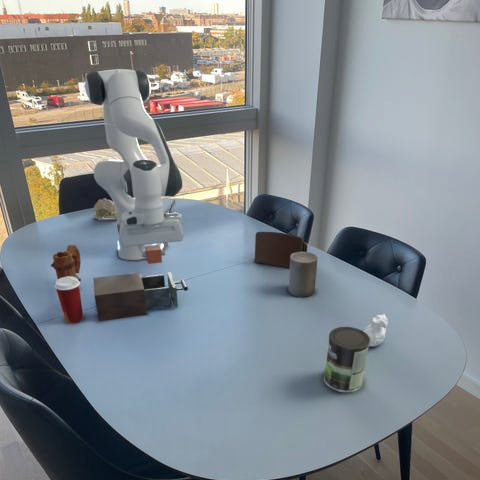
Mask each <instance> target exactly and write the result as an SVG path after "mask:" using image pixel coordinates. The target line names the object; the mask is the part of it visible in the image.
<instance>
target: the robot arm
mask: <svg viewBox="0 0 480 480" xmlns="http://www.w3.org/2000/svg"><path fill="white" fill-rule="evenodd" d="M151 86H152V85H151V81H150V79H149V76H148V74H147V73H146V72H145V71H143V70H140V69H127V68H126V69H124V68H123V69H122V68H116V69H107V70H101V71H98V70H94V71H90V72H88V73H87V75H86V76H85V81H84V90H85V94H86V96H87V98H88V99H89V102H91V103H92V104H93V105H96V106H102V107H103V109H102V110H103V121H104V123H103V124H104V128H105V131H104V132H105V137H106V143H107V145H108V147H109V148H110V149H111V150H113V151H114V152H116V153H117V154H119V156H120V157H121V159H122V160H121V159H107V160H101V161H100V160H99V161H98V162H97V163H96V164H95V166H94V169H93V178H94V180H95V182H96V184H97V185H98V186H99V187H101V188H102V189H103V190H104V191H105V192H106V193H107V194H108V195H109V198H111V201H112V202H114V205H115V208H116V213H117V223H116V228H117V233H118V234H117V236H118V237H117V238H118V240H117V252H118V255H117V256H118V257H119V258H120V259H122V260H124V261H139V260H147V259H146V257H147V253H146V250H145V246H149V245H159V246H160V248H161V255H162V256H163V257H164V256H166V250H167V248H168V246H169V245H168V244H169V243H178V242H182V241H183V240H184V231H183V227H182V225H183V223H184V218H183V216H182V214H180V213H178V212H173V213H171V212H170V211H171V208H172V206H173V204H174V203H175V201H176V199H173V200H172V202H171V203H170V205H169V206H168V210H167V212H166V213H165V212H164V211H165V210H164V202H163V200H162V197H168V198H169V197H170V198H171V197H172V198H173V197H176V195H178V194H179V193H180V191H181V190H182V188H183V178H182V174H181V171H180V169H179V168H178V166H177V164H176V161H175V159H174V157H173V155H172V152H171V150H170V148H169V145H168V143H167V140H166V138H165V135H164V133H163V130H162V128H161V127H160V124H159V123H158V121H157V120H156V119H154V118H152V117H151V116H150V115H149V113H148V112H147V110H146V108H145V107H144V103H146V102H148V100H149V99H150V95H151V91H152V89H151V88H152V87H151ZM138 139H139V140H141V141H144V142H147V143H148V144H150V145H151V146H152V148H153V150H154V153H155V155H156V158H157V160H158V162H159V164H160V165H158V163H157V162H155V161H154V160H152V159H151V160H150V159H147V157H146V156H145V155H144V154H143V151H142V150H141V148H140V145H139V142H138Z"/></svg>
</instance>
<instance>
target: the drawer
mask: <svg viewBox="0 0 480 480" xmlns="http://www.w3.org/2000/svg"><path fill="white" fill-rule="evenodd" d="M166 275H167V286H166V280H165V274H163V273H161V274H153V275H145V276H141V279H142V283H143V287H144V293H145V301H146V310H147V311H151V310H157V309H163V308H170V307H171V302H172V305H173V308H174V309H178V308H179V302H178V291H184V292H187V291H188V290H189V287H188V285H187V282H186V280H185V279H181V280H180V281H175V280H174V277H173V275H172V273H171V271H169V272H166ZM179 284H180V285H181V287H177V285H179ZM170 299H171V300H170Z"/></svg>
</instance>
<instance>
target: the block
mask: <svg viewBox="0 0 480 480" xmlns="http://www.w3.org/2000/svg"><path fill="white" fill-rule="evenodd" d="M145 250H146V253H147V257H146V259H145V260H146V262H147V264H148V265H151V264H161V263H163V257H162V255H161V248H160V246H159V245H149V246H145Z"/></svg>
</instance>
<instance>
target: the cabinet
mask: <svg viewBox="0 0 480 480" xmlns="http://www.w3.org/2000/svg"><path fill="white" fill-rule="evenodd" d="M141 277H142V275H141V272H132V273H124V274H116V275H115V274H114V275H107V276H97V277H93V279H92V280H93V293H94V294H93V295H94V301H95V307H96V312H97V318H98V322H105V321H113V320H120V319H122V320H123V319H129V318H134V317H143V316H147V315H148V310H146V301H145V293H144V287H143V283H142V279H141Z"/></svg>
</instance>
